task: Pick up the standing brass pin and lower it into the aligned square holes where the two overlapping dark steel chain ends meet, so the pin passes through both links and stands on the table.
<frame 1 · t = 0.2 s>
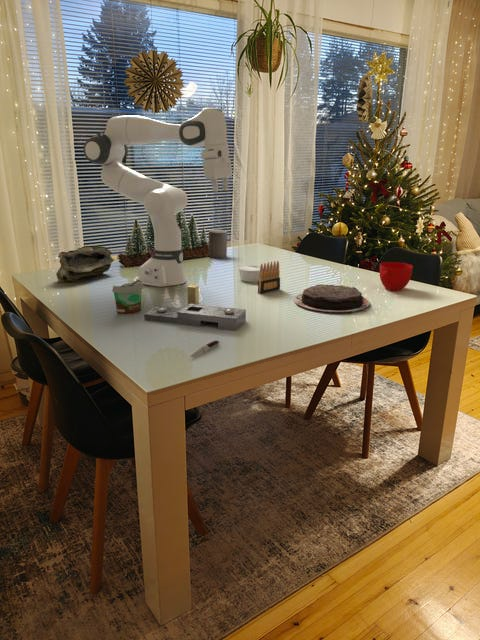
hand: (220, 190, 194), 39 cm above the table, tool pointing down, fingers open, 8 cm apart
ramekin: (251, 280, 219), on the table
hollow geode rock: (87, 278, 219), on the table
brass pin: (193, 307, 178), on the table
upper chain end: (211, 322, 163), on the table
ceramic cup: (391, 290, 204), on the table
lower chain end: (178, 318, 166), on the table
food container: (133, 312, 173), on the table
pillar candle: (217, 257, 265), on the table
pocket knife: (205, 352, 139), on the table
ammunition clip: (269, 291, 201), on the table
chocolate cake: (330, 304, 186), on the table
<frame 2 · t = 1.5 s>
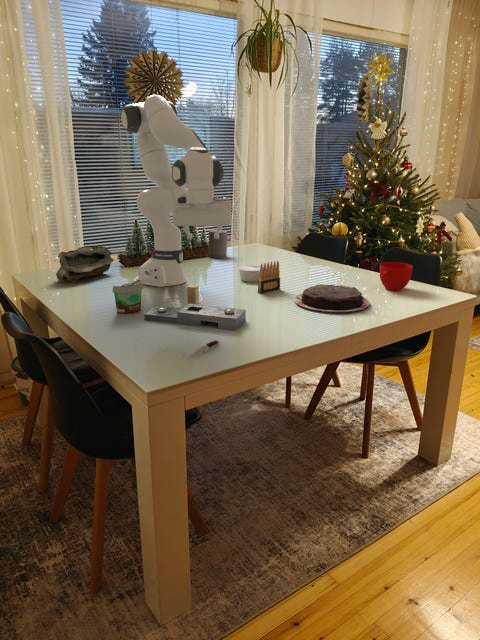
hand: (203, 238, 173), 24 cm above the table, tool pointing down, fingers open, 8 cm apart
nothing on the table moved.
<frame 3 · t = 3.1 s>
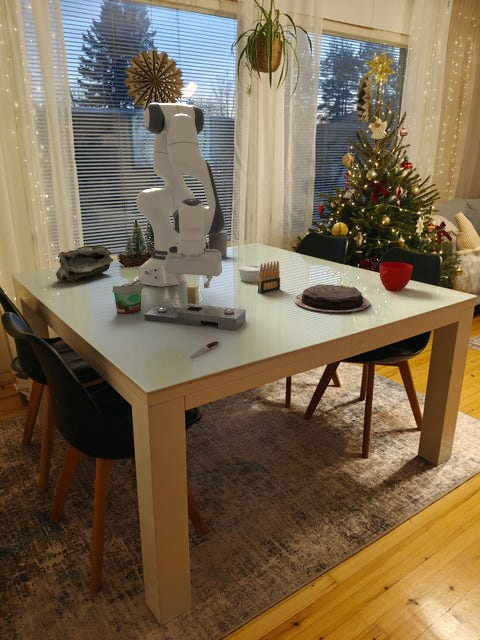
hand: (194, 286, 175), 8 cm above the table, tool pointing down, fingers open, 8 cm apart
nothing on the table moved.
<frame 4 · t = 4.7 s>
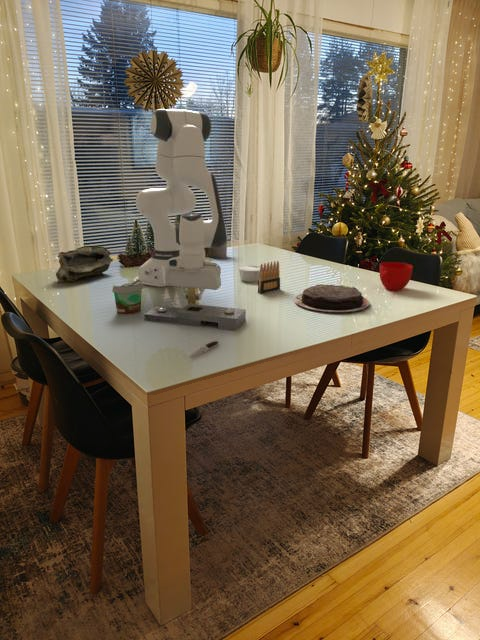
hand: (193, 299, 177), 3 cm above the table, tool pointing down, fingers closed on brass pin, 3 cm apart
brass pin: (193, 307, 178), on the table, touching gripper
everything else where it was.
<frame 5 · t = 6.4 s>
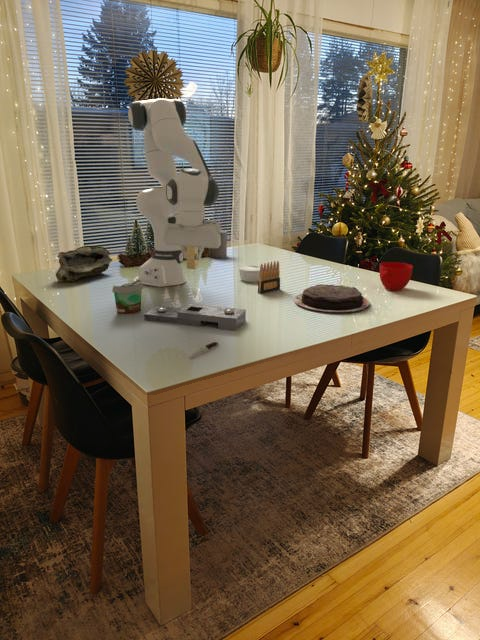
hand: (192, 259, 173), 18 cm above the table, tool pointing down, fingers closed on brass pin, 3 cm apart
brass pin: (192, 267, 174), point 14 cm above the table, touching gripper
everything else where it was.
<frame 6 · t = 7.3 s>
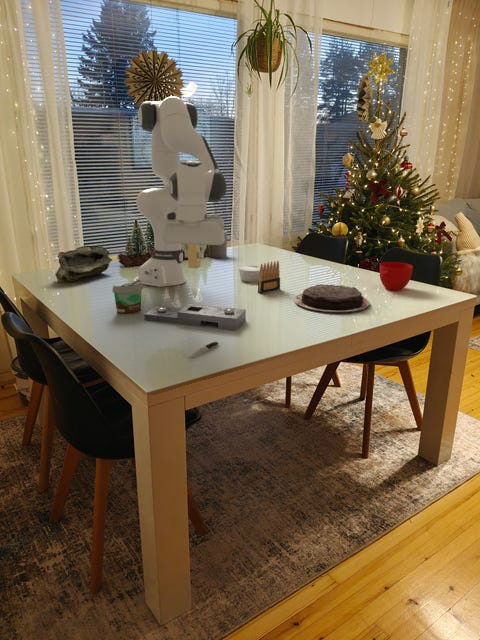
hand: (194, 257, 161), 20 cm above the table, tool pointing down, fingers closed on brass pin, 3 cm apart
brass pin: (194, 267, 162), point 17 cm above the table, touching gripper
everything else where it was.
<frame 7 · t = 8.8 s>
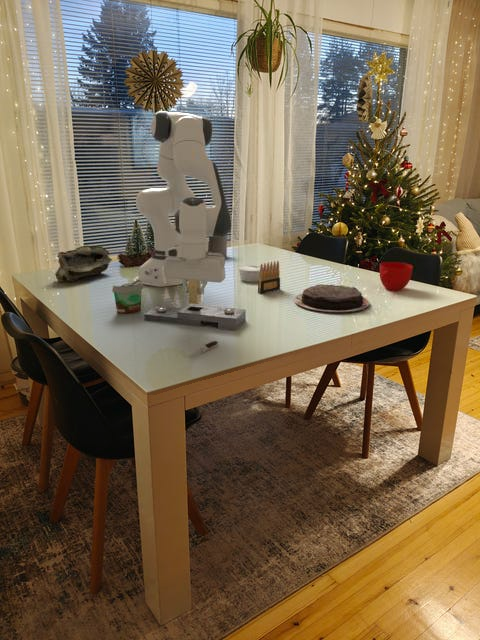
hand: (194, 293, 162), 9 cm above the table, tool pointing down, fingers closed on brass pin, 3 cm apart
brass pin: (194, 302, 163), point 6 cm above the table, touching gripper
everything else where it was.
when the fingers open (5 cm above the table, at t = 10.4 s): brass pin drops 2 cm, resting in lower chain end.
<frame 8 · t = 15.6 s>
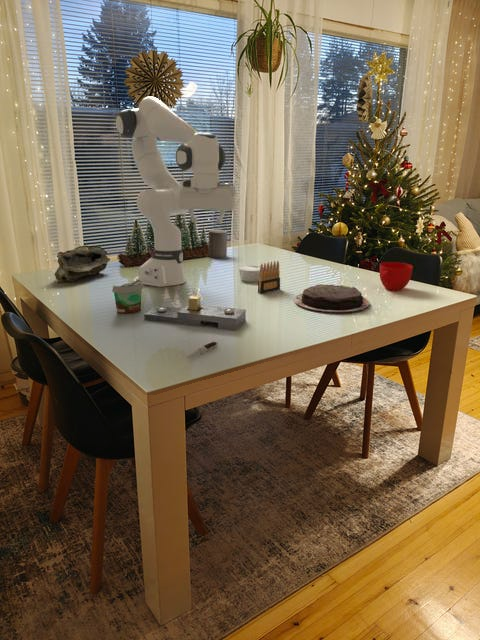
hand: (206, 222, 176), 29 cm above the table, tool pointing down, fingers open, 8 cm apart
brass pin: (194, 320, 165), resting in lower chain end
at the end: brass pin 0.0 cm from the target spot on the lower chain end, point 0.0 cm above the lower chain end's base; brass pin tilted 0°; the gripper is holding nothing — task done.
